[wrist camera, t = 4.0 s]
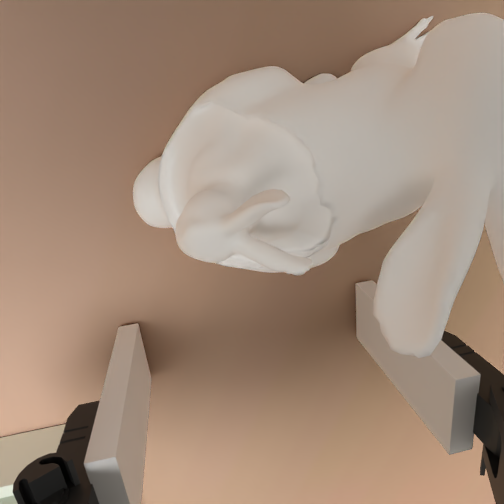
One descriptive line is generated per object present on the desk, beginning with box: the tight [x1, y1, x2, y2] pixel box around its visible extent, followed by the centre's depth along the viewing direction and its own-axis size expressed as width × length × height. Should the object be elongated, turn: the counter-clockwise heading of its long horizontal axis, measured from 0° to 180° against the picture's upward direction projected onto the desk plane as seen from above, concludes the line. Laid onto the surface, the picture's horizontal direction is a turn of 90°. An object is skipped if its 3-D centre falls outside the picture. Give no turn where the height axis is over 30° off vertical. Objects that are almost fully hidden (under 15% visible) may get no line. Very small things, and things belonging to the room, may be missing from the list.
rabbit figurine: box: [133, 12, 504, 358], centre depth 11 cm, size 12×8×10 cm, turn 106°
